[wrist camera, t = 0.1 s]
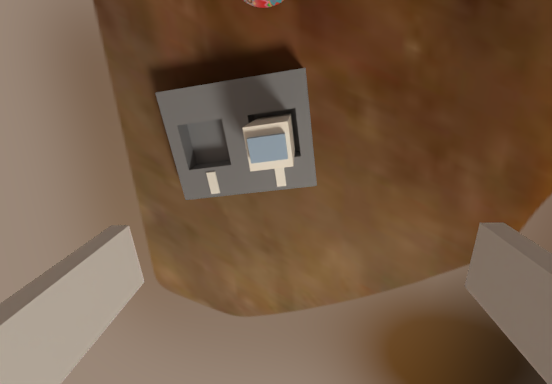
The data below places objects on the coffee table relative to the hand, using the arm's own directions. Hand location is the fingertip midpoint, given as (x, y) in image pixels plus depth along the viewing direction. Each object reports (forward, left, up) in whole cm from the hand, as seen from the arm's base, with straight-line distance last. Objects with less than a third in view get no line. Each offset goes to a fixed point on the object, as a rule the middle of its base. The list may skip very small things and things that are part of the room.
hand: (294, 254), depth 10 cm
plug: (-1, -3, -27) cm, 27 cm away
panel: (-1, -7, -28) cm, 29 cm away
